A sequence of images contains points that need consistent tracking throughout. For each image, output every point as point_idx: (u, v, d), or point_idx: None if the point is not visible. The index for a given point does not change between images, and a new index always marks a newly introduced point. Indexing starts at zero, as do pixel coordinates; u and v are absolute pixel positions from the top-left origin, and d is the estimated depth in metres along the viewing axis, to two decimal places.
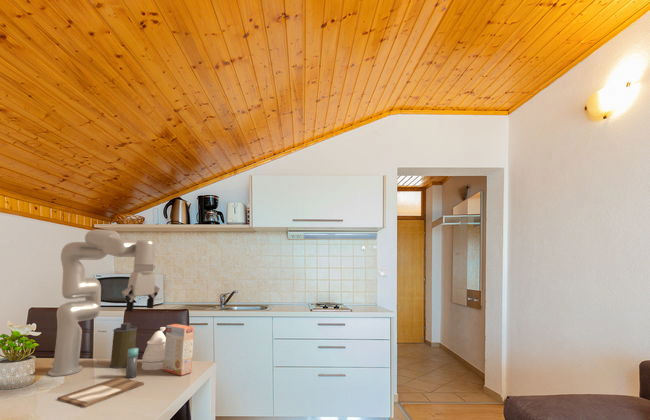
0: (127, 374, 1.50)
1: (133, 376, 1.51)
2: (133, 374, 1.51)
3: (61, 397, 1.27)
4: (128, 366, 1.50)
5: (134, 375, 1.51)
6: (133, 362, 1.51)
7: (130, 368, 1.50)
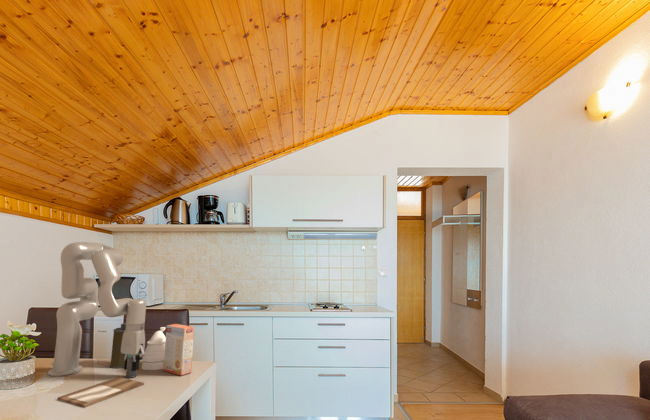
0: (127, 374, 1.50)
1: (133, 376, 1.51)
2: (133, 374, 1.51)
3: (61, 397, 1.27)
4: (128, 366, 1.50)
5: (134, 375, 1.51)
6: None
7: (130, 368, 1.50)
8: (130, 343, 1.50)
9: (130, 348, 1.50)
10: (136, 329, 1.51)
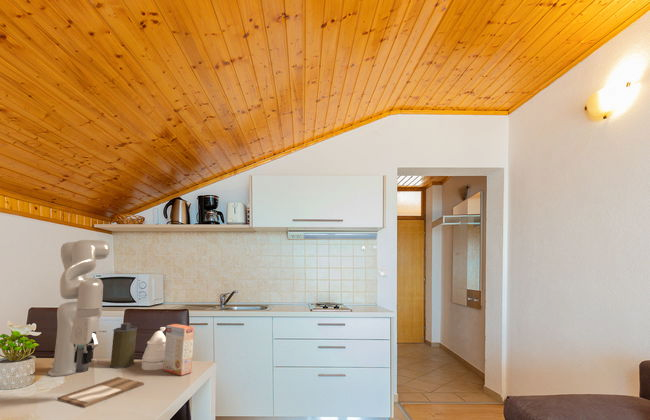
0: (77, 368, 1.28)
1: (84, 370, 1.29)
2: (84, 367, 1.29)
3: (61, 397, 1.27)
4: (78, 358, 1.28)
5: (85, 369, 1.29)
6: None
7: (80, 360, 1.28)
8: (80, 331, 1.29)
9: (80, 337, 1.28)
10: (88, 315, 1.30)
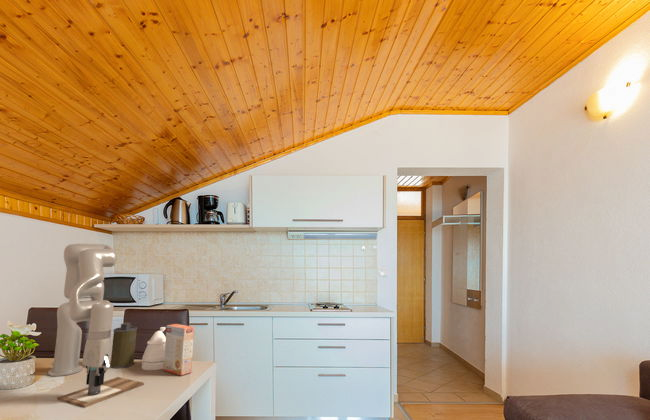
0: (89, 390, 1.29)
1: (96, 392, 1.29)
2: (96, 390, 1.30)
3: (61, 397, 1.27)
4: (90, 380, 1.29)
5: (98, 391, 1.30)
6: None
7: (93, 382, 1.29)
8: (93, 353, 1.29)
9: (93, 360, 1.29)
10: (100, 337, 1.30)
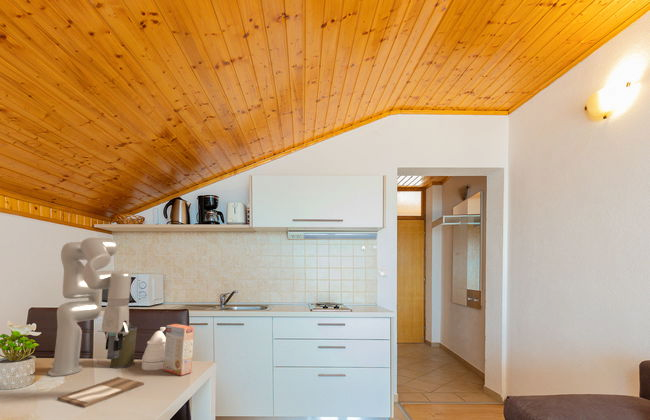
0: (109, 354, 1.34)
1: (115, 357, 1.34)
2: (115, 354, 1.34)
3: (61, 397, 1.27)
4: (110, 345, 1.34)
5: (116, 355, 1.35)
6: None
7: (112, 347, 1.34)
8: (112, 319, 1.34)
9: (112, 325, 1.34)
10: (119, 304, 1.35)
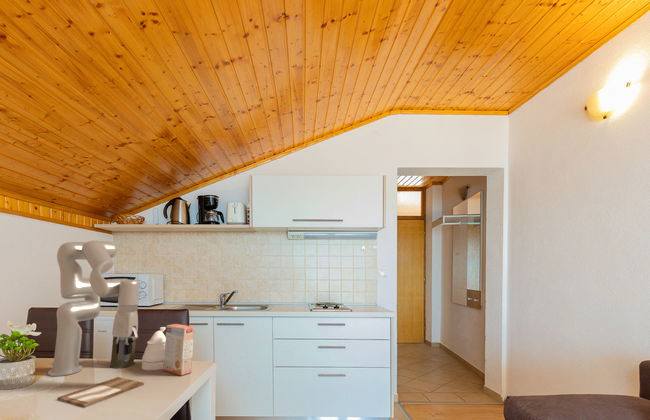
0: (119, 358, 1.41)
1: (126, 360, 1.42)
2: (126, 358, 1.42)
3: (61, 397, 1.27)
4: (120, 349, 1.42)
5: (127, 359, 1.43)
6: None
7: (122, 351, 1.42)
8: (122, 325, 1.42)
9: (122, 330, 1.42)
10: (128, 310, 1.43)
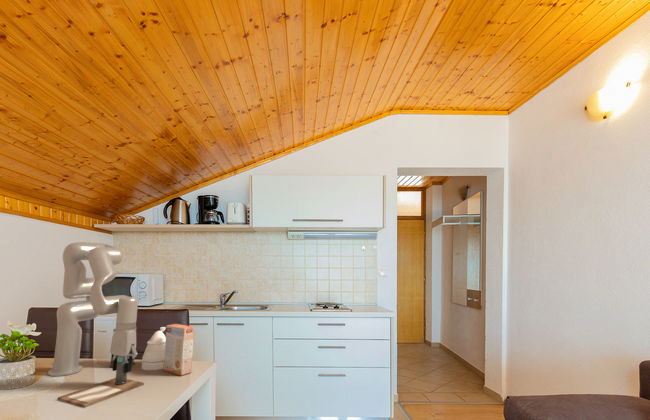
0: (117, 380, 1.40)
1: (123, 382, 1.41)
2: (123, 380, 1.41)
3: (61, 397, 1.27)
4: (118, 371, 1.41)
5: (124, 381, 1.42)
6: (123, 368, 1.41)
7: (120, 373, 1.41)
8: (120, 343, 1.41)
9: (120, 349, 1.41)
10: (127, 328, 1.42)
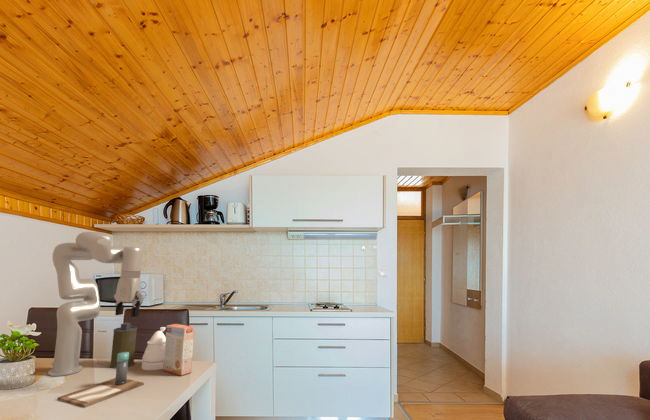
0: (117, 380, 1.40)
1: (123, 382, 1.41)
2: (123, 380, 1.41)
3: (61, 397, 1.27)
4: (118, 371, 1.41)
5: (124, 381, 1.42)
6: (123, 368, 1.41)
7: (120, 373, 1.41)
8: (125, 290, 1.44)
9: (125, 295, 1.44)
10: (131, 276, 1.45)
